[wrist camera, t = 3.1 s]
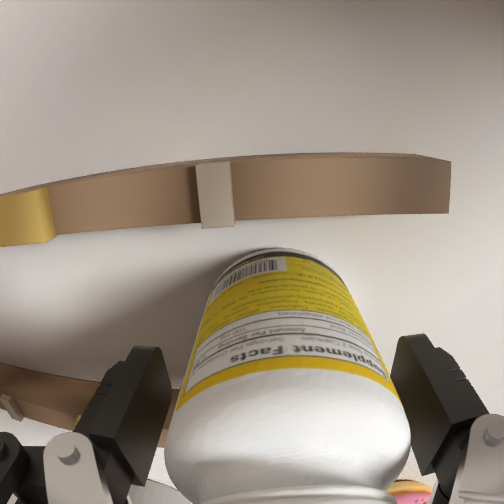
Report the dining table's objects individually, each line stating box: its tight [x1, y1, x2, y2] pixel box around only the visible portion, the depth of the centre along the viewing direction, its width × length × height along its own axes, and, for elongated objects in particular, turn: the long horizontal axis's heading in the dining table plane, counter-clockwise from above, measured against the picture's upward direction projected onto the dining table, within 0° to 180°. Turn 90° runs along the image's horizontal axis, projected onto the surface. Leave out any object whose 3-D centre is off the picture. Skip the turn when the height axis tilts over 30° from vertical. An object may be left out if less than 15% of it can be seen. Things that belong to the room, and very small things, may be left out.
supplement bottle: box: [164, 248, 411, 504], centre depth 8 cm, size 5×5×10 cm
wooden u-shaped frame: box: [0, 153, 451, 448], centre depth 11 cm, size 28×12×3 cm, turn 94°
